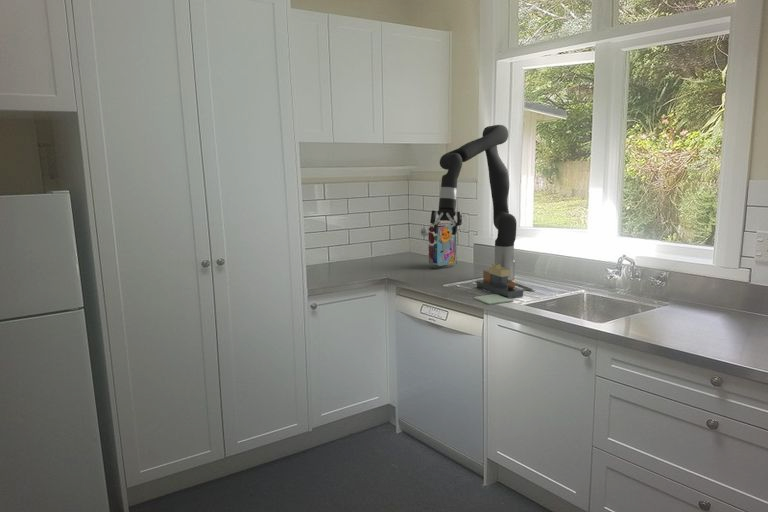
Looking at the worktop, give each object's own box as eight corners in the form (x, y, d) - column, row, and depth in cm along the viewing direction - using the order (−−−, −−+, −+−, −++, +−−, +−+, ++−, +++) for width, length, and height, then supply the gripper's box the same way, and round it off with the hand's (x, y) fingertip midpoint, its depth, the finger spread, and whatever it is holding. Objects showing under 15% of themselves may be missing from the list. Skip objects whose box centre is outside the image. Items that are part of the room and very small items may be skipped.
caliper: (495, 285, 265) (495, 272, 264) (496, 285, 266) (496, 272, 265) (534, 292, 251) (534, 278, 250) (535, 291, 252) (536, 278, 251)
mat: (496, 295, 245) (496, 294, 245) (513, 301, 234) (513, 300, 234) (473, 298, 240) (473, 297, 240) (489, 304, 229) (489, 303, 229)
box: (424, 272, 296) (424, 226, 292) (416, 270, 301) (416, 225, 297) (457, 266, 311) (457, 223, 307) (449, 264, 316) (449, 222, 312)
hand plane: (490, 285, 264) (491, 269, 262) (523, 296, 242) (523, 278, 241) (476, 287, 261) (477, 270, 259) (507, 298, 239) (508, 280, 238)
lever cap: (498, 272, 255) (498, 263, 254) (510, 275, 247) (510, 266, 246) (489, 273, 253) (489, 264, 252) (500, 276, 245) (501, 267, 244)
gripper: (465, 199, 248) (462, 235, 249) (436, 198, 256) (434, 233, 256) (459, 197, 242) (456, 234, 242) (429, 196, 249) (426, 232, 249)
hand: (444, 234), depth 249 cm, fingers open, 8 cm apart
